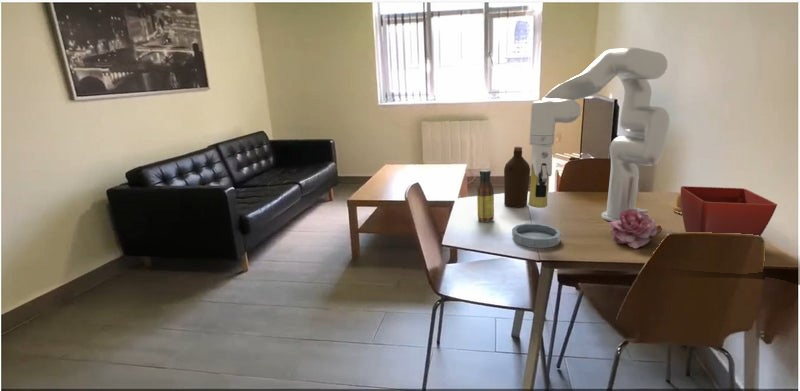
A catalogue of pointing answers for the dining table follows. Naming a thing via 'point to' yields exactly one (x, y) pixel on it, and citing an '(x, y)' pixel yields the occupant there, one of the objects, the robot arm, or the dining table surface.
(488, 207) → the sauce bottle
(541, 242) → the round tray
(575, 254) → the dining table surface
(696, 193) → the plant pot
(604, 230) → the dining table surface
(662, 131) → the robot arm
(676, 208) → the ornamental finial
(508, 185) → the olive oil
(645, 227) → the flower
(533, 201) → the vase
